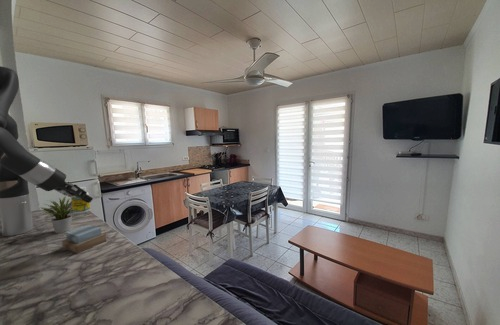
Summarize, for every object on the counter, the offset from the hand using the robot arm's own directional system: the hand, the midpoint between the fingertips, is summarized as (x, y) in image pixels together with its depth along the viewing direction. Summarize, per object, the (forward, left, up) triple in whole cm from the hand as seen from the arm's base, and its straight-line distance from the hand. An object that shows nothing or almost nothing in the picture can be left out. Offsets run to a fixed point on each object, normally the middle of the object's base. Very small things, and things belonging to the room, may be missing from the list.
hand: (86, 199), depth 80 cm
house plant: (-25, +3, -18) cm, 31 cm away
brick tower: (0, -2, -18) cm, 18 cm away
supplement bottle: (0, -2, -4) cm, 5 cm away
